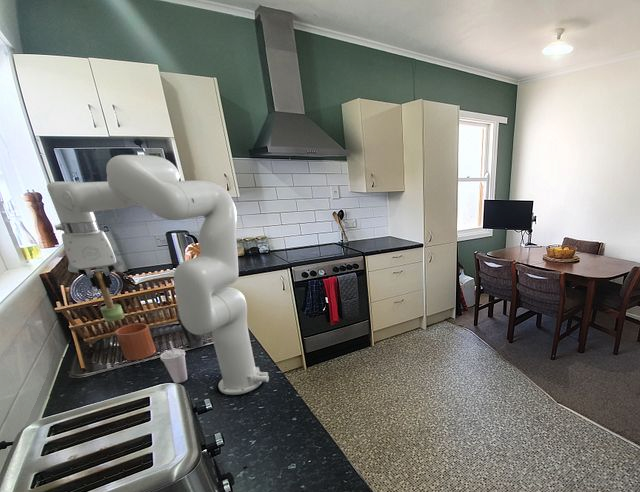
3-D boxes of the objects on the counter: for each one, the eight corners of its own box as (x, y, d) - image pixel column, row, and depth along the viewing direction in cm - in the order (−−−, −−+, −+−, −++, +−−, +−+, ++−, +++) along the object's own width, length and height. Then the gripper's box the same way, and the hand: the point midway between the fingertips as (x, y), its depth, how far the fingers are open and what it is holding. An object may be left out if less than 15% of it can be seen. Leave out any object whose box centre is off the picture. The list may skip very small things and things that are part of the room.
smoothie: (180, 386, 107) (168, 347, 101) (163, 383, 108) (150, 344, 103) (197, 375, 113) (186, 337, 107) (180, 372, 114) (168, 335, 108)
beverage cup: (211, 343, 133) (198, 294, 124) (191, 351, 127) (176, 300, 119) (201, 338, 136) (188, 290, 128) (181, 345, 130) (166, 295, 122)
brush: (128, 315, 114) (112, 268, 107) (116, 321, 109) (98, 273, 103) (113, 315, 114) (95, 268, 107) (100, 321, 109) (81, 272, 103)
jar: (162, 348, 128) (154, 323, 124) (144, 360, 120) (134, 335, 116) (137, 347, 128) (128, 323, 124) (117, 359, 120) (107, 334, 116)
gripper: (42, 232, 92) (69, 297, 100) (118, 226, 103) (137, 285, 110) (41, 228, 97) (67, 290, 104) (114, 223, 107) (133, 280, 115)
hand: (103, 287), depth 107 cm, fingers closed on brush
